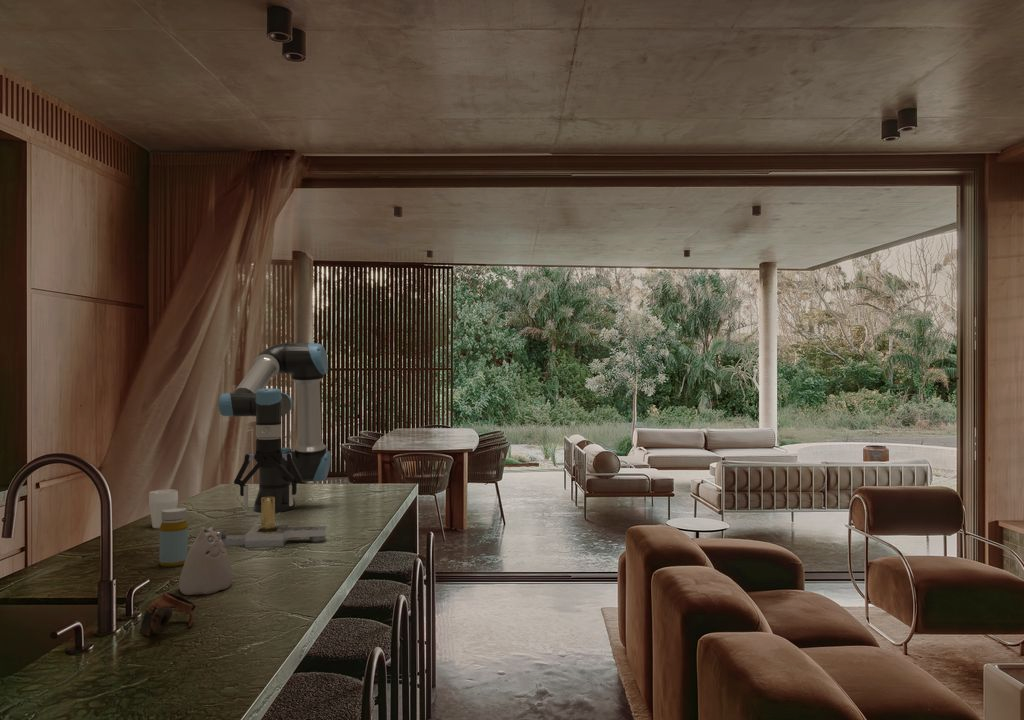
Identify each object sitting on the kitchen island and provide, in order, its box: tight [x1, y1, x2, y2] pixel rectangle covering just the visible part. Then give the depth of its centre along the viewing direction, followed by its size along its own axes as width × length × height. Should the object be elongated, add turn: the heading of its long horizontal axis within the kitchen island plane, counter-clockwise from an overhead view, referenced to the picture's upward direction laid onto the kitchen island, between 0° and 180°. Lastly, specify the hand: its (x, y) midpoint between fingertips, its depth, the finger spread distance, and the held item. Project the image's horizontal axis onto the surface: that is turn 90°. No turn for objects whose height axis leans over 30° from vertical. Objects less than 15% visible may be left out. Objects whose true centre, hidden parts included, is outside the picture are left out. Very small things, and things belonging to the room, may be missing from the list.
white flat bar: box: [215, 524, 328, 549], centre depth 214 cm, size 11×35×4 cm, turn 99°
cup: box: [148, 488, 179, 530], centre depth 236 cm, size 9×9×12 cm
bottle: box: [158, 507, 189, 568], centre depth 190 cm, size 7×7×15 cm
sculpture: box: [178, 526, 233, 596], centre depth 170 cm, size 13×12×15 cm
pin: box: [260, 496, 276, 532], centre depth 214 cm, size 4×4×14 cm
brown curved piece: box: [139, 592, 197, 637], centre depth 142 cm, size 12×10×8 cm
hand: (268, 505), depth 215 cm, fingers open, 13 cm apart
